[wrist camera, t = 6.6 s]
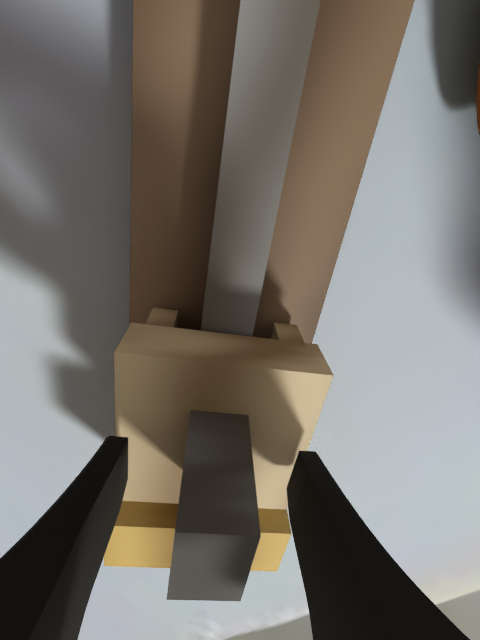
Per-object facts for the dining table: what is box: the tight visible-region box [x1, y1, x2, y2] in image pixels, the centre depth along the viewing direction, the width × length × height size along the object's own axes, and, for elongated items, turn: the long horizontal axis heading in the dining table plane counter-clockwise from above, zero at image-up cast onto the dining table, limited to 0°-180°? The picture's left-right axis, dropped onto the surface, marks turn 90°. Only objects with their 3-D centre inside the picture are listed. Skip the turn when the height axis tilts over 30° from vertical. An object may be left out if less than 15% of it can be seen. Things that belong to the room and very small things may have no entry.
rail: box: [104, 0, 414, 571], centre depth 11 cm, size 8×28×6 cm, turn 171°
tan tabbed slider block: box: [114, 307, 333, 601], centre depth 11 cm, size 7×7×8 cm
